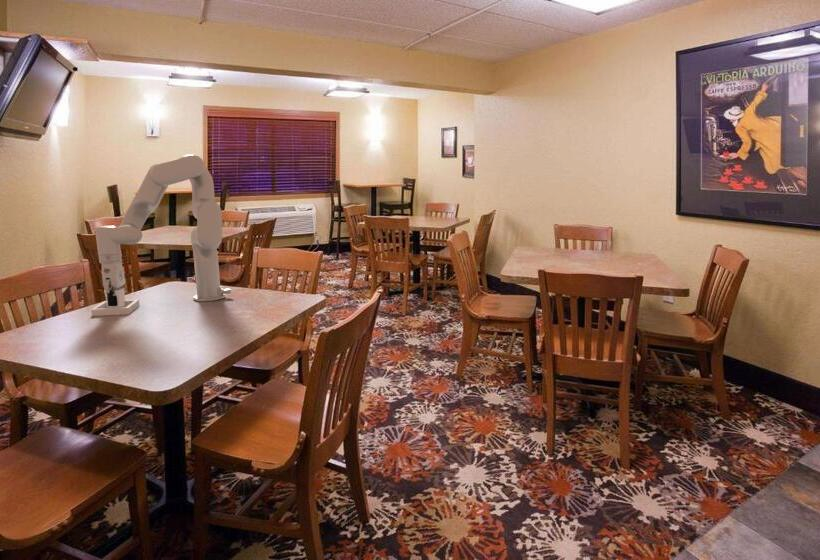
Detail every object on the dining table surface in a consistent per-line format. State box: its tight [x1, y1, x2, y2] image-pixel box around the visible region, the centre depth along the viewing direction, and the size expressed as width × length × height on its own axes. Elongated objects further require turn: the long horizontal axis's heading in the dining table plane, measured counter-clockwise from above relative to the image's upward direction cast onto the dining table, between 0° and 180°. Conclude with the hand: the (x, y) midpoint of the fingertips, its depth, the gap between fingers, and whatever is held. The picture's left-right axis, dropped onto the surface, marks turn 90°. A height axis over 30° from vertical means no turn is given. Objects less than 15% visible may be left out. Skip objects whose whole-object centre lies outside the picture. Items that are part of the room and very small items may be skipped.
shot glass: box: [103, 286, 125, 308], centre depth 192 cm, size 7×7×7 cm
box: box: [90, 299, 140, 317], centre depth 193 cm, size 13×13×2 cm
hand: (116, 303), depth 192 cm, fingers closed on shot glass, 6 cm apart
